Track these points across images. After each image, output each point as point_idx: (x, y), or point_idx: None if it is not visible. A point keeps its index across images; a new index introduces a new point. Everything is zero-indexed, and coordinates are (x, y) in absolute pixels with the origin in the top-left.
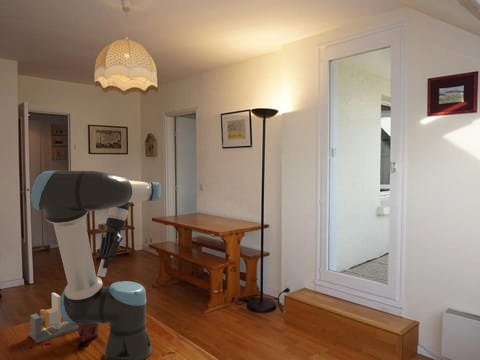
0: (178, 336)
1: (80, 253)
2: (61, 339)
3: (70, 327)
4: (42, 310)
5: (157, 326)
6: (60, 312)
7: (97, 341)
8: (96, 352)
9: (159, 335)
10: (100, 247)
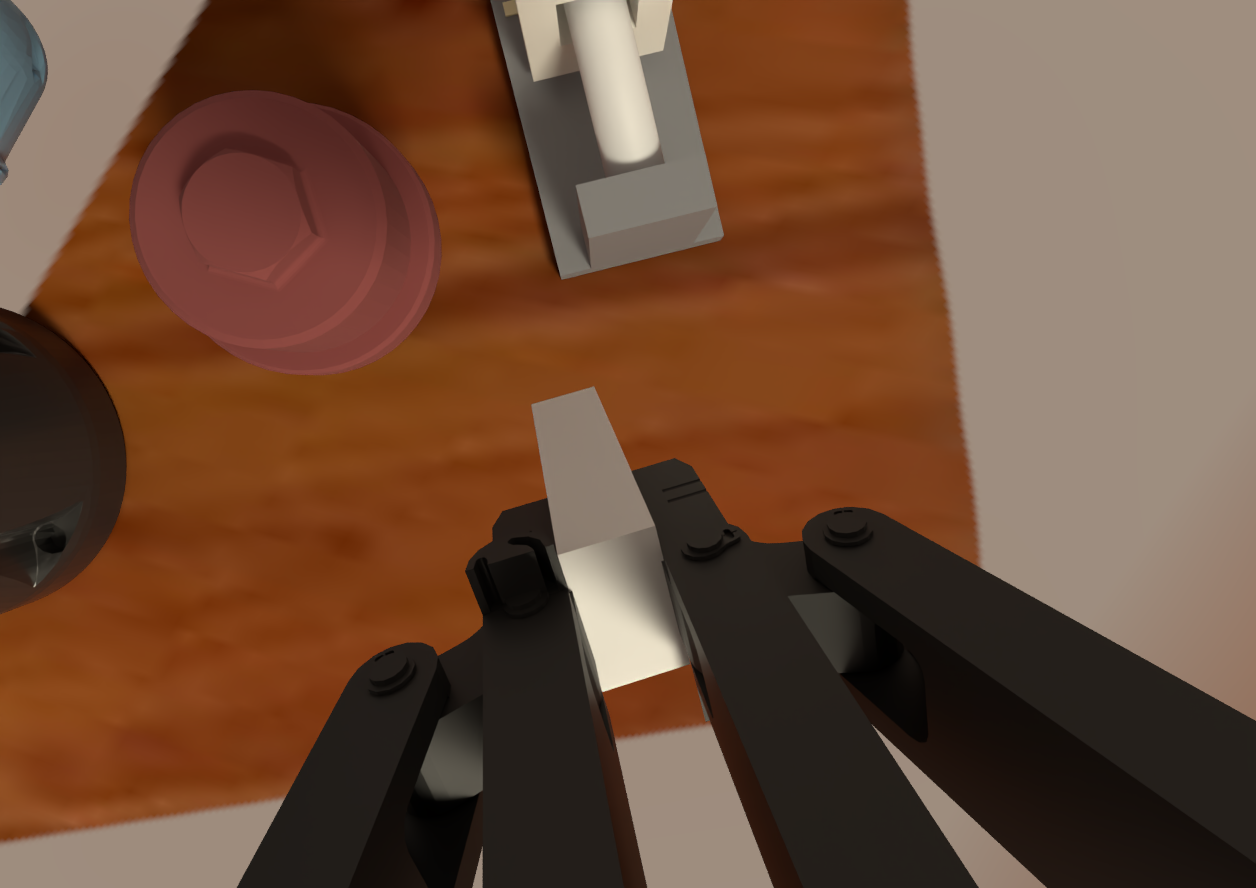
0: (40, 831)
1: None
2: (437, 90)
3: (559, 166)
4: None
5: (281, 759)
6: (517, 9)
7: None
8: (95, 273)
9: (126, 723)
10: (1126, 658)
